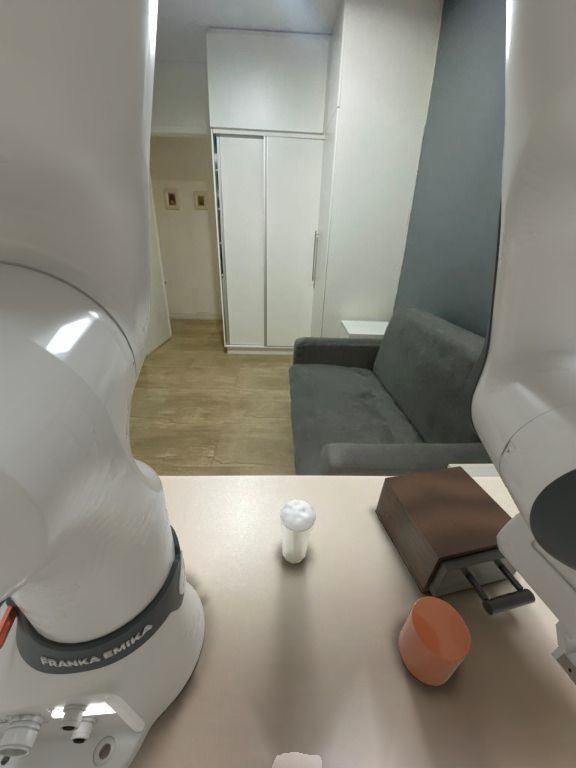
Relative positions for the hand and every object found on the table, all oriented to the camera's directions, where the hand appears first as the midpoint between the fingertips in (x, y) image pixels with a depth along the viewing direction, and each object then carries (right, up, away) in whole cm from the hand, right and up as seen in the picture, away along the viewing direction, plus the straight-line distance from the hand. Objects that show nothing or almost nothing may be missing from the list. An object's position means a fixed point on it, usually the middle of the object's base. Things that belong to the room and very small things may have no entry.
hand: (571, 671), depth 28 cm
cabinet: (-4, +3, +18) cm, 19 cm away
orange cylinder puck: (-11, -4, +6) cm, 13 cm away
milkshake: (-25, +2, +15) cm, 30 cm away
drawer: (-3, +2, +15) cm, 15 cm away
